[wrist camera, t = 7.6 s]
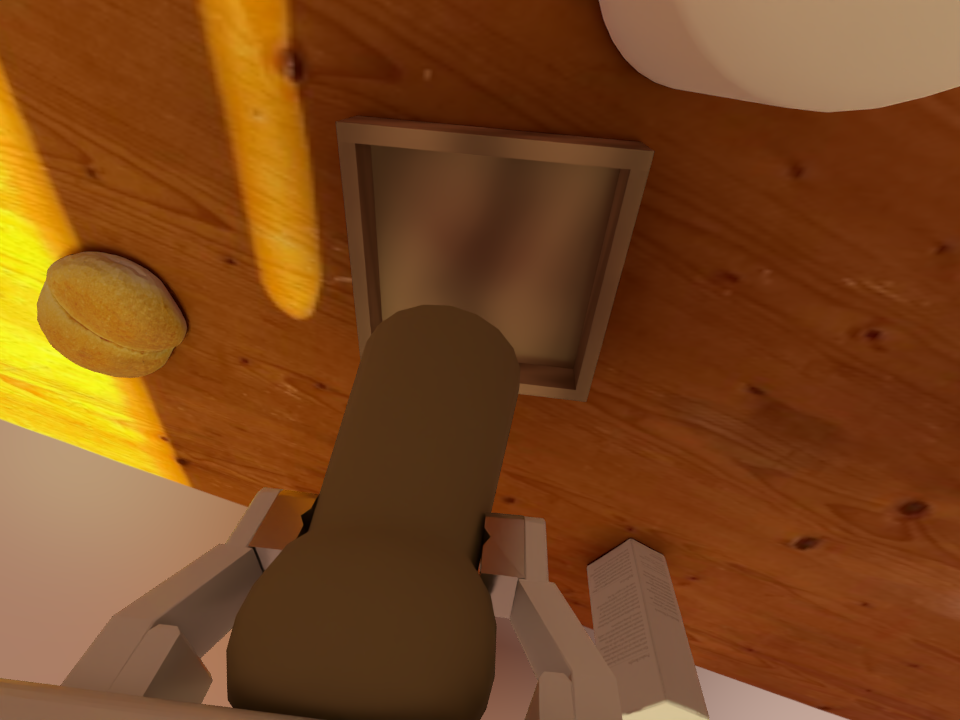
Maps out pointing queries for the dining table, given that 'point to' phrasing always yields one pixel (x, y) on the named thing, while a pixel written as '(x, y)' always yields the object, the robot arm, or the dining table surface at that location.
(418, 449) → the cork
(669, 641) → the skincare box
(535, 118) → the dining table surface
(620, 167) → the tray
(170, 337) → the bread roll
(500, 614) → the robot arm
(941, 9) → the wine bottle
